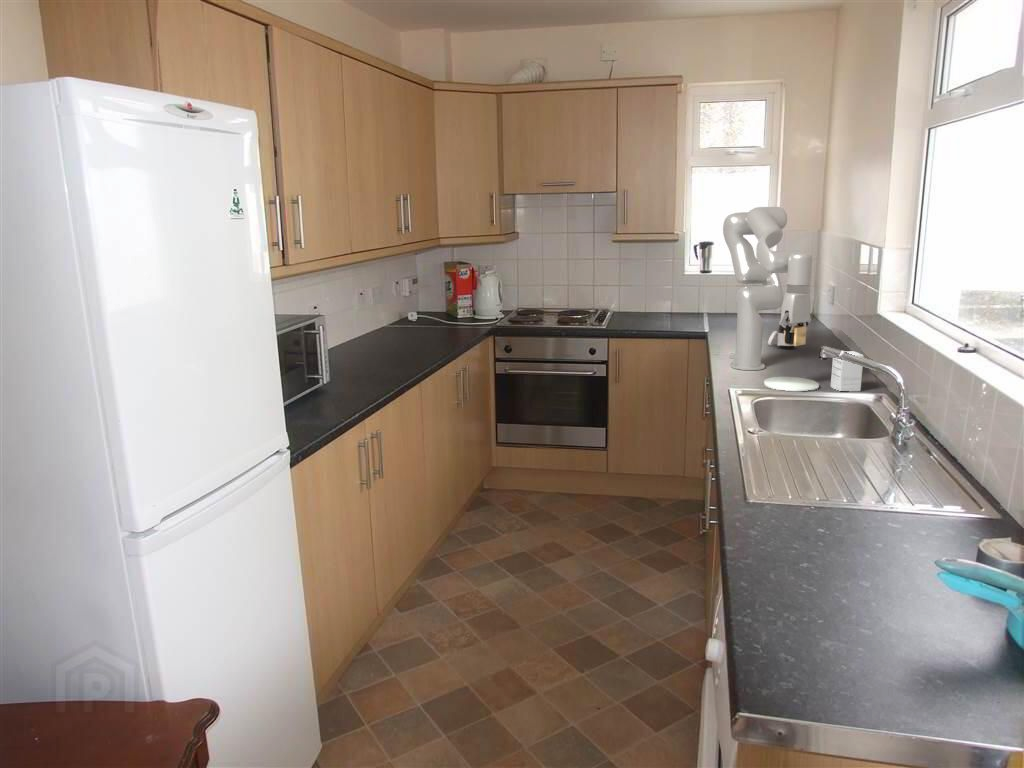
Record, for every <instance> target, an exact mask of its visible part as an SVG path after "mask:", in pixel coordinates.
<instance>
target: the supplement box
mask: <svg viewBox="0 0 1024 768" xmlns="http://www.w3.org/2000/svg"><path fill="white" fill-rule="evenodd" d="M844 352H847V353H849V354H852V355H855V356H858V357H862V358H863V359H864V355H863V354H861V352H857V351H854V350H849V351H847V350H846V351H844ZM831 363H832V364H831V365H832V367H831V377H830V378H831V379H830V388H832V389H834V390H835V389H836V391H837V390H839V391H849V392H861V389H862V379H863V376H862V375H863V366H860V365H857V364H853V363H851V362H848V361H845V360H841V359H837V358H833V357H832V362H831ZM839 391H838V392H839Z"/></svg>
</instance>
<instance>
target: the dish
mask: <svg viewBox="0 0 1024 768" xmlns="http://www.w3.org/2000/svg"><path fill="white" fill-rule="evenodd" d="M763 386H764V387H765V388H767V387H768V388H767V389H770V388H771V389H770V390H774V389H776V390H775V391H778V390H785V391H808V390H815V389H817V390H819V389H818V388H820V383H819V382H817V381H816V380H814V379H813V380H812V379H808V378H806V377H798V376H772V377H769V378H765V379H763ZM785 391H784V392H785ZM815 391H816V390H815Z"/></svg>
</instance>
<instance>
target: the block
mask: <svg viewBox="0 0 1024 768" xmlns="http://www.w3.org/2000/svg"><path fill="white" fill-rule="evenodd" d="M789 327H791V326H789ZM806 328H808V326H807V327H803V326H797V324H796V325H794V329H793V333H794V342H793V344H788V345H793V346H796V347H798V346H802V345H803V346H804V345H806V343H807V342H806V338H807V329H806ZM784 344H787V343H785V331H784Z"/></svg>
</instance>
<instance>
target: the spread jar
mask: <svg viewBox="0 0 1024 768" xmlns="http://www.w3.org/2000/svg"><path fill="white" fill-rule="evenodd" d="M780 322H781V320H779V325H778V327H777V330H774V331H773V332H772V333H771V334H770V337H769V339H768V341H767V345H768V346H770V347H773V345H774V344H775V343H776V347H777V348H778V349H781V350H793V349H794V350H795V349H796V347H797V346H793V345H788V344H784V328H783V327H782V325H781V324H780ZM789 323H790V322H789ZM795 325H797V324H795ZM789 326H791V325H789Z"/></svg>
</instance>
